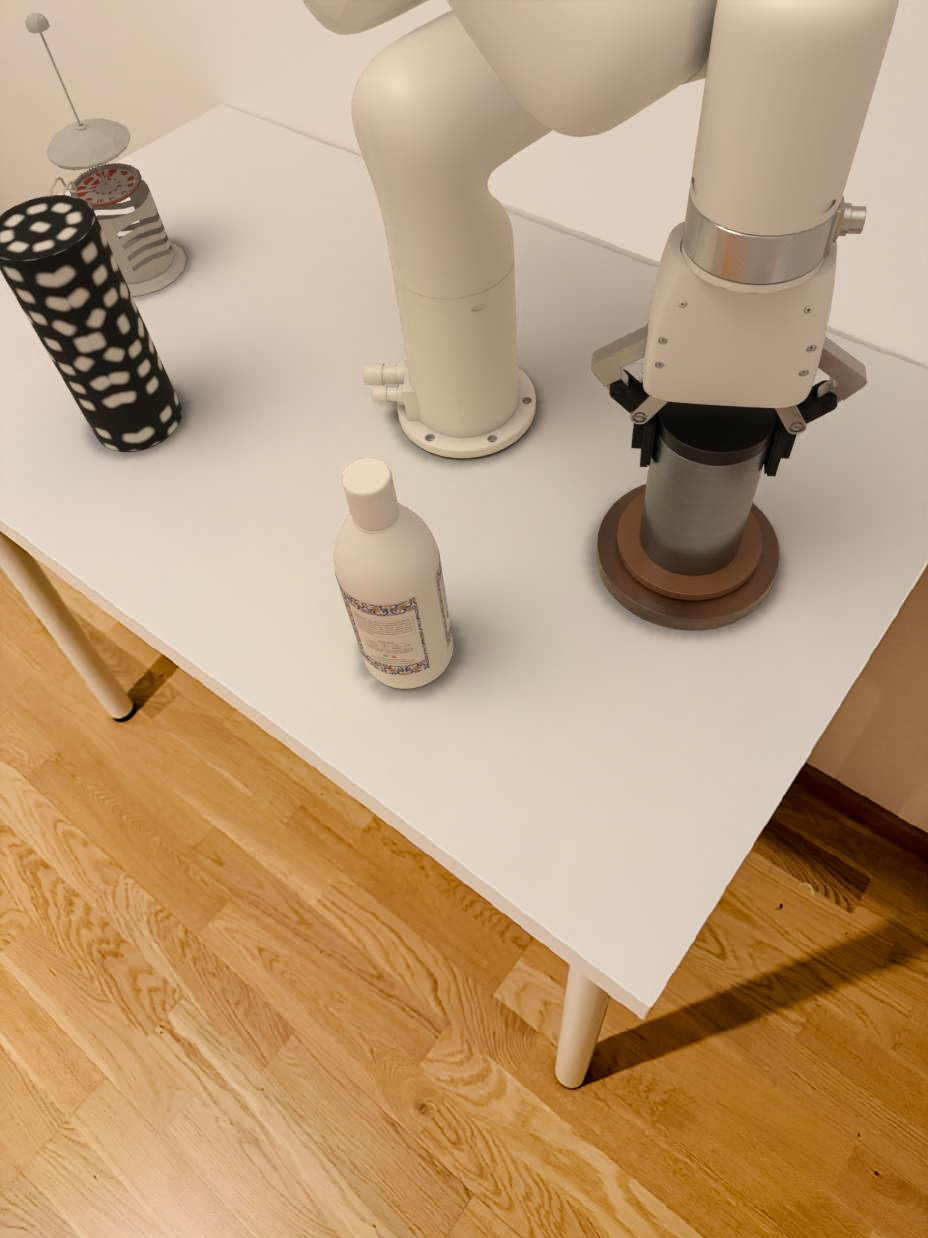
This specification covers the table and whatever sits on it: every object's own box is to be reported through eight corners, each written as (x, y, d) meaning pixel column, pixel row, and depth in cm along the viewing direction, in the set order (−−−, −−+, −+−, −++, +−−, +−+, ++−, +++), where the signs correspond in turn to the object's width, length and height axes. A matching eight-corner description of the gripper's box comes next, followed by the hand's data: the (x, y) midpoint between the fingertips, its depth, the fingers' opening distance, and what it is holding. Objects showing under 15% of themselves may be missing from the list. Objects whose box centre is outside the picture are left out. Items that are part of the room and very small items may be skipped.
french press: (204, 254, 99) (113, -2, 78) (131, 317, 94) (12, 61, 73) (140, 230, 102) (36, -22, 81) (65, 289, 97) (-66, 37, 76)
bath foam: (405, 598, 72) (364, 414, 55) (472, 644, 69) (450, 464, 52) (345, 658, 69) (282, 484, 52) (412, 708, 66) (368, 541, 50)
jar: (614, 596, 68) (629, 470, 57) (618, 478, 75) (632, 343, 63) (764, 604, 67) (812, 477, 55) (756, 484, 73) (796, 346, 61)
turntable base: (594, 626, 69) (595, 615, 68) (597, 487, 77) (598, 475, 75) (783, 634, 67) (788, 623, 66) (768, 491, 75) (771, 479, 74)
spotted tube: (199, 401, 86) (116, 206, 69) (148, 461, 82) (47, 270, 65) (129, 379, 88) (33, 186, 72) (76, 438, 84) (-39, 247, 68)
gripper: (924, 188, 48) (835, 425, 63) (597, 180, 51) (585, 410, 66) (940, 277, 44) (841, 508, 59) (585, 263, 47) (575, 488, 62)
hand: (706, 455), depth 62 cm, fingers closed on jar, 7 cm apart
